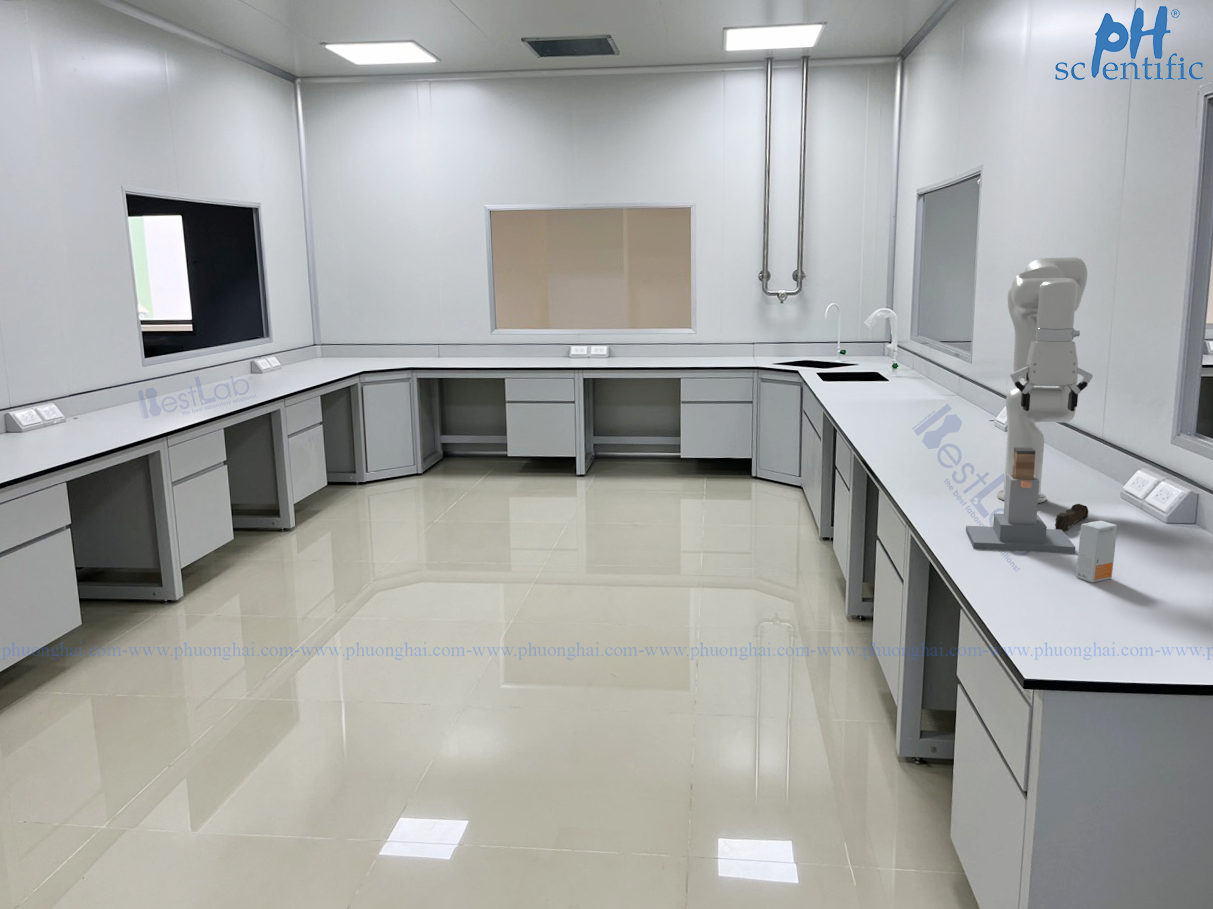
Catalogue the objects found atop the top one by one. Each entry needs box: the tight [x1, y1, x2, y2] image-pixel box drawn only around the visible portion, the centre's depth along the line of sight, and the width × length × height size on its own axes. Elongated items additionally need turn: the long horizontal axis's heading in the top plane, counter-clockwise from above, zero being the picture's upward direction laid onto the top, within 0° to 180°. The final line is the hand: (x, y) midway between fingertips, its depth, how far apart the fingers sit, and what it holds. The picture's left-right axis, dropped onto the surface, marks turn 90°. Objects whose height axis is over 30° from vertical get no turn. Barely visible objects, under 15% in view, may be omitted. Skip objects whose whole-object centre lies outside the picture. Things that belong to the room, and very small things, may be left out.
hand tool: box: [1054, 503, 1089, 533], centre depth 234 cm, size 19×4×5 cm, turn 135°
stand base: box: [965, 474, 1076, 554], centre depth 220 cm, size 14×22×16 cm, turn 76°
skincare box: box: [1075, 520, 1118, 583], centre depth 195 cm, size 6×4×12 cm
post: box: [1012, 447, 1036, 480], centre depth 219 cm, size 4×4×17 cm
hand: (1048, 410), depth 213 cm, fingers open, 9 cm apart
